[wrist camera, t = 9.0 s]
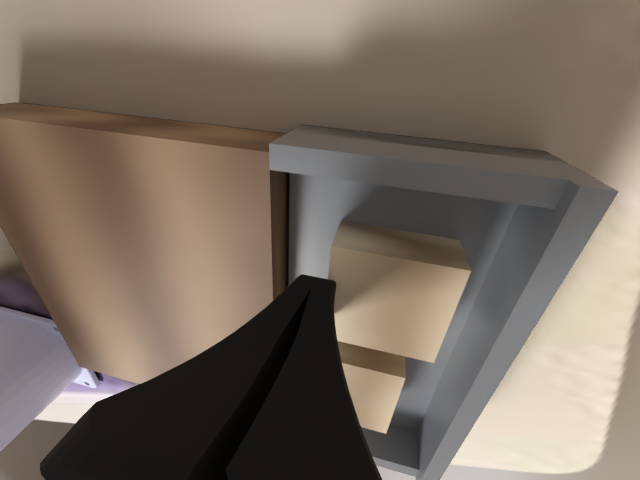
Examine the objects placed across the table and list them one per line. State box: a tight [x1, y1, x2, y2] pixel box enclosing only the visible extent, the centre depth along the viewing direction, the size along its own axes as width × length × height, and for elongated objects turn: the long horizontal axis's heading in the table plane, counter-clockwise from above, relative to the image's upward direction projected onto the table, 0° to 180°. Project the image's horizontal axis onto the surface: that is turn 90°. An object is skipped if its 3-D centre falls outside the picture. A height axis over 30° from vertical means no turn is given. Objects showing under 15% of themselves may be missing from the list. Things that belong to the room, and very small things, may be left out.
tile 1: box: [338, 341, 406, 434], centre depth 15 cm, size 4×4×2 cm
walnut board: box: [0, 103, 290, 384], centre depth 16 cm, size 14×16×3 cm
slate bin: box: [269, 125, 619, 480], centre depth 14 cm, size 9×17×4 cm, turn 176°
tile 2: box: [328, 221, 471, 363], centre depth 12 cm, size 4×4×2 cm
